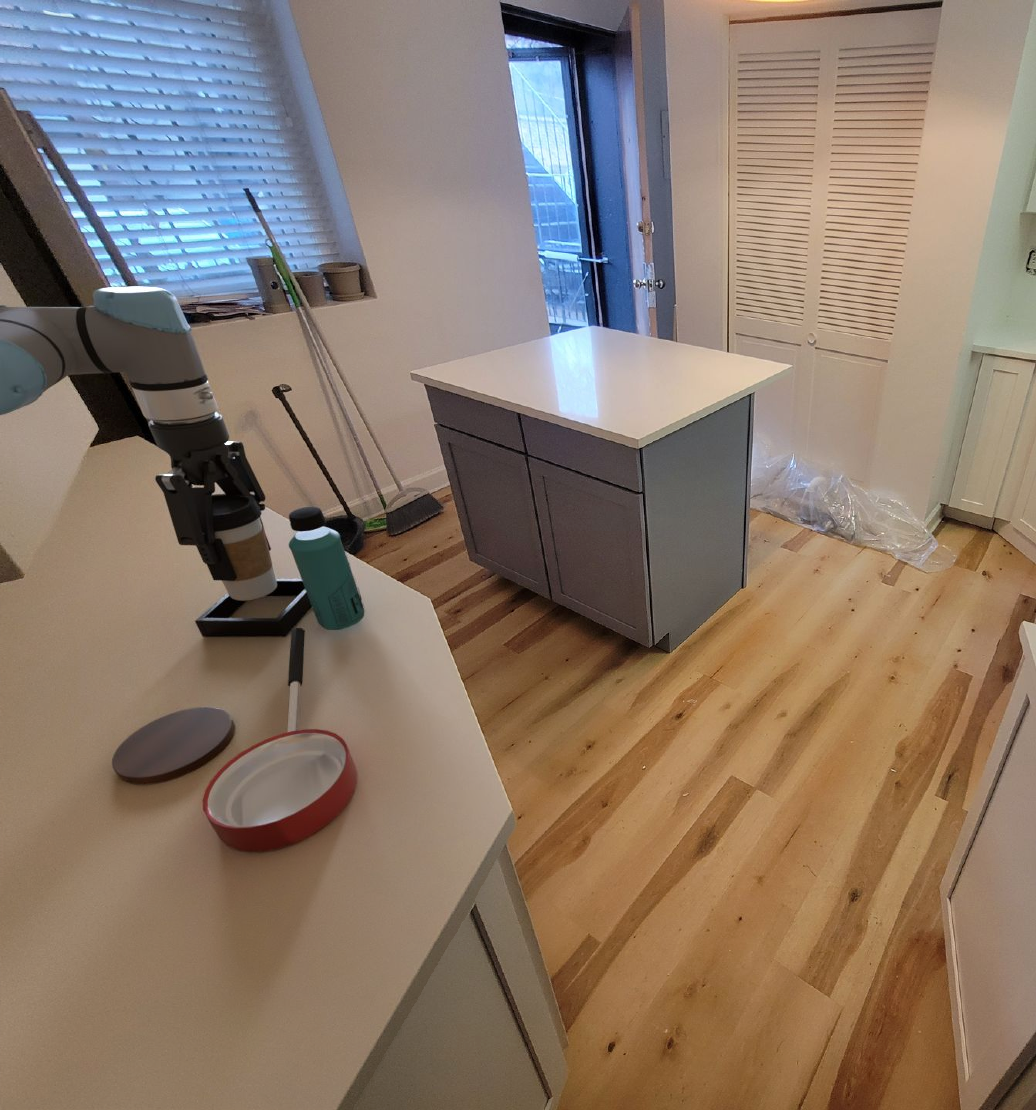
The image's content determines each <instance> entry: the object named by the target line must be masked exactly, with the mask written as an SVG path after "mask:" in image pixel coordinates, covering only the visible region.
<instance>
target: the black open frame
mask: <svg viewBox="0 0 1036 1110" xmlns="http://www.w3.org/2000/svg"><path fill="white" fill-rule="evenodd" d="M276 581H277V587H276V589H275V590H274V591H273V592H271V593H270V594H268V595H266V596H265V597H295V598H294V599H293V600H292V601H291V603H289V604H288V605H287V606H286V607H285V608H284V610H282V611H281V612H280V614H278V616H277V617H232V616H233V615H234V614H235V613H236V612H237V611H238V610H239V609H241V607H243V605H245V604H246V603H247V602H248V601H249V600H245V601H241V600H235V599H233V598H231V597H230V595H229V593H228V592H226V594H224V595H223V596H222V597H221V598H220V599H218V600H217V601H216V602H215V603H214V604H213V605H212V606H210V607H209V608H208V609H207V610H206V611H205V612H204V613H202V614H201V615H200V616H199V617H198V618H196V619H195V620H194V623H195V625H196V626H197V628H198V630H199V633H200V634H201V637H202V638H285V637H287V636H288V635H289V634H290V633H291V632H292V630H293V629H294V628H296V626H297V625H298V623H300V622H301V620H302V619H303V618H304V617H305V616H306V615H307V614H308V613H309V611H311V610H312V609H313V608H312V607H311V603H310V602H309V601H310V600H308V595H307V593H306V590H304V589H305V587H304V584H303V581H302V582H301V578H276ZM311 608H312V609H311Z"/></svg>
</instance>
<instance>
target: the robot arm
mask: <svg viewBox="0 0 1036 1110" xmlns="http://www.w3.org/2000/svg"><path fill="white" fill-rule="evenodd" d="M92 299H93V301H94V302H93V305H89V306H80V307H79V306H6V305H3V304H2V305H0V416H3V415H8V414H10V413H13V412H14V411H18V410H20V409H22V408H25V407H26V406H30V405H31V404H33V403H34V402H37V400H38V399H39V398H40V397H41V396H43V394H44V393H45V392H46V391H47V390H48V389H50V388H51V387H53V386H55V385H57V384H58V383H60V382H61V381H62V380H63V379H65V378H67V377H68V376H72V375H73V376H74V375H90V374H115V373H116V374H117V373H124V374H125V376H126V377H127V379H128V381H129V384H130V387H131V389H132V392H133V394H134V396H135V398H136V401H137V403H138V406H139V408H140V410H141V413H142V415H143V417H144V418H146V419H147V420H149V421H148V423H147V424H148V425H147V426H148V428H149V430H150V432H151V435H152V437H153V439H154V442H155V444H156V446H157V447H158V448H159V450H162V451H163V452H165V453H166V454H168V455H169V457H170V467H171V468H170V470H168V472H167V473H166V474H156V475H155V478H154V479H155V482H156V484H157V485H158V487H159V488H160V490H161V491H162V493H163V496H164V500H165V502H166V507H167V509H168V512H169V516H170V519H171V522H172V526H173V529H174V532H175V536H176V539H177V543H178V544H179V545H180V546H193V547H196V549H197V552H198V553H199V556H200V557H201V560H202V562H203V564H205V565H207V566H206V567H207V569H208V571H209V573H210V575H211V578H212V580H213V581H221V582H222V581H234V580H235V579H237V576H236V574H235V571H234V569H233V566H232V564H231V561H230V559H229V557H228V554H227V552H226V549H225V547H224V544H223V542H222V540H221V539H215V529H214V518H213V505H212V495H213V494H214V493H215V492H216V485H217V486H218V487H219V489H220V490H221V491H222V492H223V494H228V495H248V496H251V497H252V498H253V499H254V500H255V502H256V504H257V505H258V506H259V507H260V510H261V512H264V511H265V510H266V504H265V503H262V502H265V501H266V495H265V492H264V491H263V489H262V487H261V485H260V483H259V481H258V478H257V477H256V474H255V472H254V470H253V468H252V467H251V464H250V462H249V461H248V459H247V456H246V451H245V446H244V443H243V442H242V441H229V440H230V435H229V431H228V428H227V426H226V423H225V421H224V418H223V415H222V414H220V413H219V412H217V411H218V410H219V406H218V403H217V400H216V398H215V396H214V393H213V390H212V386H211V384H210V382H209V378H208V375H207V373H206V370H205V367H204V365H203V362H202V359H201V355H200V353H199V351H198V350H199V349H198V348H197V345H196V342H195V340H194V335H193V332H192V327H191V325H189V323H188V321H187V319H186V317H185V314H184V313H183V310H182V308H181V306H180V304H179V301H178V298H177V297H176V295H174V294H173V293H172V292H170V291H169V290H166V289H164V288H161V287H156V286H155V287H154V286H134V285H133V286H131V285H130V286H112V287H111V286H110V287H102V288H98V289H96V290H94V291H93V292H92ZM199 486H203V487H199ZM260 521H261V524H263V525H264V523H263V520H262V517H261V516H260ZM203 533H204V534H203ZM266 539H267V543H268V547H269V552H270V551H271V550H272V548H271V544H270V542H269V539H268V536H266Z"/></svg>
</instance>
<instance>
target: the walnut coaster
mask: <svg viewBox="0 0 1036 1110" xmlns="http://www.w3.org/2000/svg"><path fill="white" fill-rule="evenodd" d="M235 730H236V727H235V722H234V720H233V718H232V717H231V715H230V714H229V713H228V712H227V711H225V710H224V709H221V708H218V707H213V706H199V707H190V708H187V709H181V710H177V711H175V712H171V713H169V714H166V715H164V716H162V717H159V718H157V719H155V720H153V721H151V722H149V723H147V724H145V725H143V726H141V727H140V728H139V729H138V730H136V731H135V732H133V733H131V735H129V736H128V737H126V738H125V740H124V741H123V742H121V744H120V745H119V746H118V747H117V749H115V752H114V754H113V756H112V760H111V766H112V769H113V771H114V772H115V774H116V775H117V777H118V778H119V779H120V780H122V781H123V782H125V783H129V784H130V785H131V784H133V785H152V784H159V783H164V782H168V781H171V780H174V779H177V778H180V777H182V776H185V775H187V774H189V773H192V772H194V771H196V770H197V769H199V768H202V767H203V766H204V765H206V764H207V763H209V762H211V761H212V760H213V759H214V758H216V757H217V756H218V755H220V754H221V753H222V752H223V751H224V750H225V749H226V748H227V746H228V745H229V744H230V743H231V741H232V739H233V737H234V734H235Z"/></svg>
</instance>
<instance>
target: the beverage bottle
mask: <svg viewBox="0 0 1036 1110" xmlns="http://www.w3.org/2000/svg"><path fill="white" fill-rule="evenodd" d="M288 519H289V523H290V529H291V530H293V531H294V532H296V533H295V534H294V535H293V536H292V537H291V539H289V542H288V549H290V551H291V555H292V557H293V559H294V563H295V565H296V567H297V570H298V572H299V575H300V579H301V582H302V581H303V584H304V587H305V589H304V590H306V593H307V595H308V600H310V601H309V602H310V603H311V607H312V608H311V609H310V610H312V611H313V616H314V617H315V619H316V622H317V624H318V625H320V627H321V628H323V629H325V630H328V631H336V630H337V631H339V630H343V629H347V628H350V627H352V626H354V625H357V624H358V623H360V621H362V620H363V619H364V617H365V609H366V608H365V605H364V603H363V599H362V595H361V592H360V588H359V587H358V585H357V582H356V578H355V576H354V574H353V571H352V568H351V564H350V561H349V559H348V555H347V553H346V550H345V548H344V545H343V542H342V540H341V534H340V533H339V532H338V531H336V530H335V529H333V528H330V527H327V526H325V525H326V524H327V519H326V517H325V515H324V514H323V510H322V509H321V508H320V507H316V506H305V507H299V508H297V509H295V510H292V511H291V512H290V513H289V514H288Z"/></svg>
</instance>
